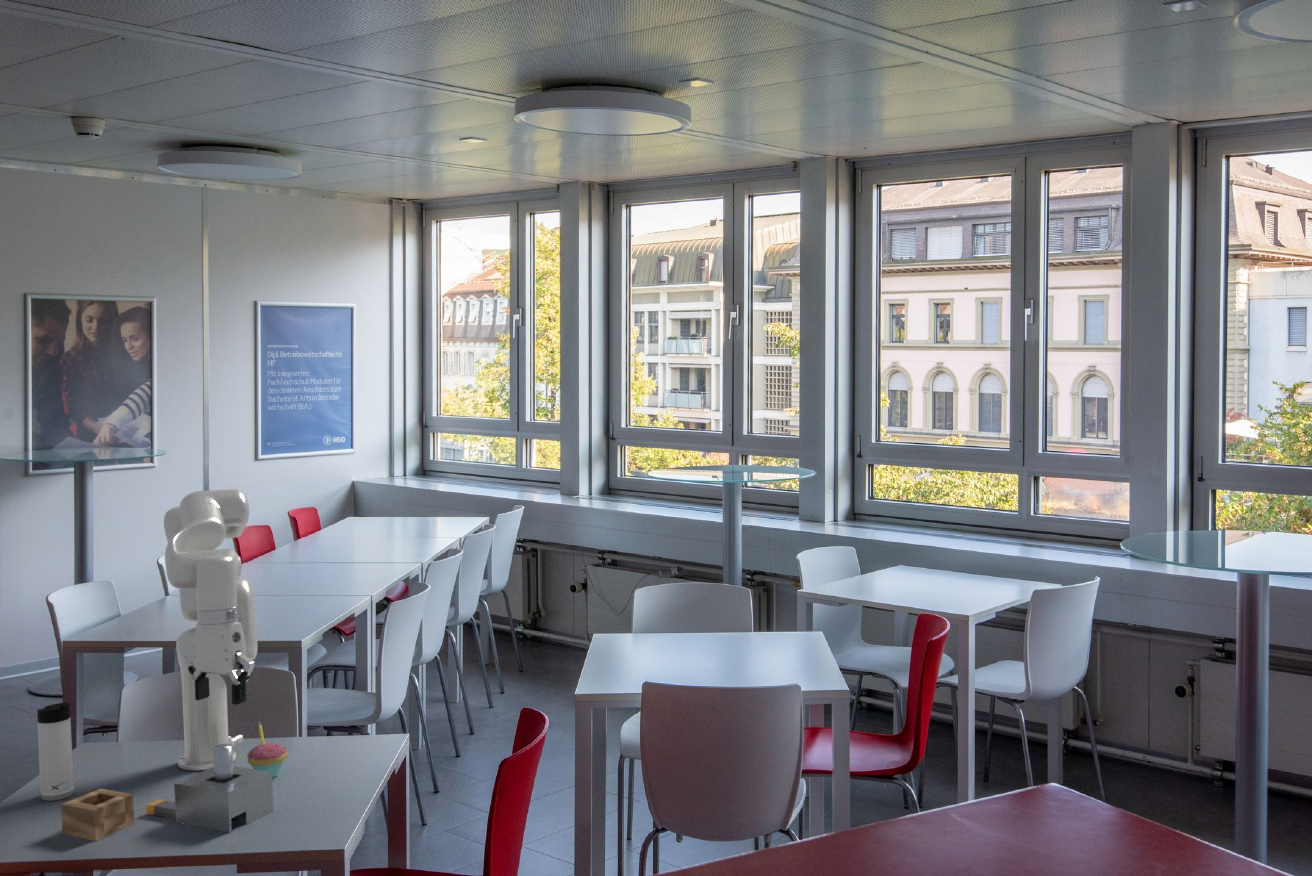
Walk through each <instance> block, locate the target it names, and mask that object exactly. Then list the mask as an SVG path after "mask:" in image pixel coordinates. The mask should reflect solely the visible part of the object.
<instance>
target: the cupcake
mask: <svg viewBox="0 0 1312 876" xmlns="http://www.w3.org/2000/svg"><path fill="white" fill-rule="evenodd" d="M258 731H259V737H260V742H261V744H258V745H256V746H255V747H253V748H251V749H250V751H249V752H248V753H247V755H246V758H247V763H248V764H249V765H250V766H251V769H254V770H261V771H267V772H272V779H273V778H276V777H278V776H279V775H280V772H281V771H280V770H281V767H282V765H283V762H284V761H285V760H286V759H287V758H288V757H289V754H288V750H287V748H286V747H284V746H283V745H281V744H279V743H274V742H273V743H271V742H269V743H268V742H267V743H266V742H265V737H264V732H263V726H262V724H261V722H260V721H258Z"/></svg>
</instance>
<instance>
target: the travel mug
mask: <svg viewBox="0 0 1312 876" xmlns="http://www.w3.org/2000/svg"><path fill="white" fill-rule="evenodd" d="M36 712H37V713H36V715H37V722H36V723H37V738H38V739H37V740H38V741H37V742H38V762H39V763H38V765H39V785H40V786H39V787H40V799H41V800H42V801H45V802H46V801H47V802H55V801H60V800H64V799H68V798H70V797H71V796H72V795H73V794H74V791H75V790H74V770H73V769H74V766H73V746H72V745H73V744H72V742H73V741H72V724H71V723H72V722H71V703H70V702H59V703H54V704H50V705H47V706H44V707H43V708H38V709H37V711H36Z"/></svg>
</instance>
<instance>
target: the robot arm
mask: <svg viewBox="0 0 1312 876" xmlns="http://www.w3.org/2000/svg"><path fill="white" fill-rule="evenodd" d="M249 517H250V505H249V502H248V498H247V496H246V494H244V493H243V492H242V490H238V489H236V488H234V489H233V488H232V489H231V488H229V489H228V488H227V489H212V490H211V489H210V490H209V489H208V490H197V491H193V492H190V493H189V494H187V495H185V496H184V497H183V498H182V499H181V501H180V504H179V506H175V507H173V508H170V509H168V510H167V511H166V512H165V514H164V516H163V528H164V534H165V537H166V540H167V544H166V548H165V552H164V562H165V572H166V577H167V580H168V583H169V585H170V586H172V587H173V588H174V589H179V601H180V602H179V604H180V610H181V611H180V612H181V614H182V617H183V618H184V619H185V620H186V621H189V622H192V623H194V622H197V623H196V625H195V627H193V628H189V629H187V630H184V631H182V632H181V633H180V634H179V635H178V637H177V639H176V642H175V643H176V646H175V647H176V649H175V650H176V655H177V660H178V665H179V670H180V678H181V680H180V681H181V690H182V696H181V697H182V716H183V718H182V719H183V737H184V738H183V739H184V741H183V742H184V743H183V744H184V755H182V756H180V758H178V760H177V766H178V768H180V769H181V768H182V770H186V771H205V770H207V769H210V768H212V767H214V755H213V747H214V746H216V745H219V744H232V748H233V747H234V746H235V745H236V746H237V745H239V744H241V743H243V742H244V737H243V735H242V734H238V735H235V736H229V718H228V695H227V694H228V693H227V689H228V687H227V685H226V684H227V683H226V682H225V680H224V678H223V677H222V676H226V675H228V676H229V678H230V679H231V681H232V683H233V684H231V703H232V705H235V706H236V705H239V704H242V703H245V702H246V701H247V682H248V681H249V678H250V677H252V675H253V670H254V668H255V664H256V663H255V661H254V660H255V659H256V657H257V654H258V636H257V635H258V632H257V624H256V623H257V622H256V611H255V600H254V599H255V598H254V593H253V592H254V591H253V589H252V588H253V587H252V586H251V583H250V582H249V581H248V579H246V578H243V577H239V576H241V574H242V559H241V556H239V554H238V553H237V552H236V551H235V550H233V549H231V548H221V549H220V548H219V547H220V546H221V545H222V543H223V542H224V540H226V539H227V540H229V539H235V538H239V537H240V536H242V534H243V533H244V531H245V529H246V526H247V525H248V522H249ZM217 548H218V549H217ZM237 674H238V675H237ZM221 675H222V676H221ZM236 759H237V752H236V751H235V750H233V762H234V761H235V760H236Z"/></svg>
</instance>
